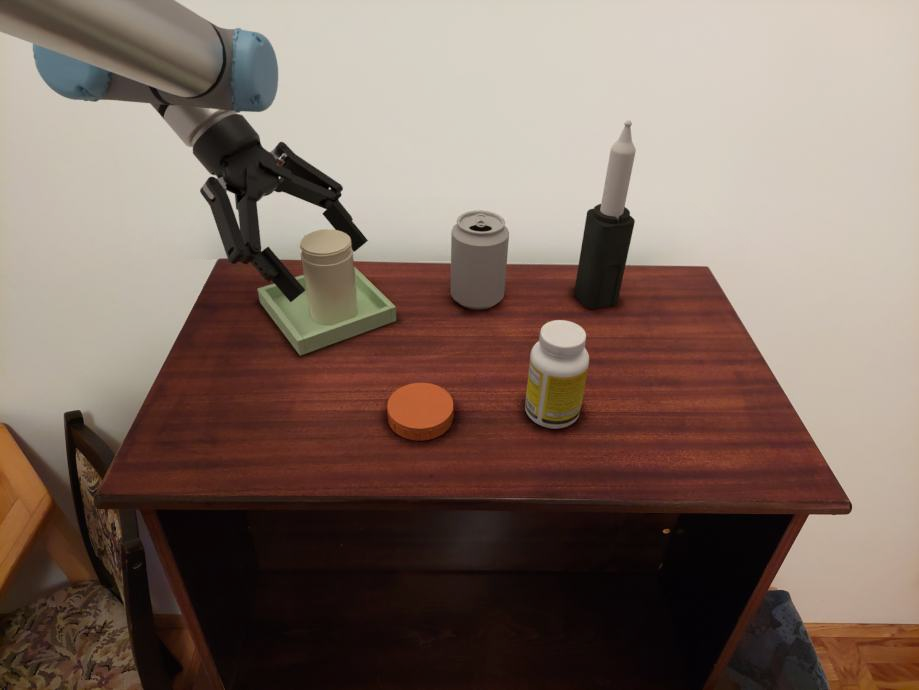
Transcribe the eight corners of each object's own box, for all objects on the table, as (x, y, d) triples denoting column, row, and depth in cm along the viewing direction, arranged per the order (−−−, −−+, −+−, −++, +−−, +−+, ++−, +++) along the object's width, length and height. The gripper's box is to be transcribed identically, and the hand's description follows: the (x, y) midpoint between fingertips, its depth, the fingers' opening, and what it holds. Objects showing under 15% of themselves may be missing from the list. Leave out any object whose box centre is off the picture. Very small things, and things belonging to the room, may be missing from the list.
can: (449, 312, 87) (450, 232, 79) (451, 282, 93) (452, 205, 85) (504, 314, 87) (511, 235, 79) (503, 283, 93) (509, 207, 85)
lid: (466, 412, 72) (466, 400, 71) (425, 451, 67) (425, 438, 66) (416, 386, 75) (415, 373, 74) (374, 421, 70) (373, 408, 69)
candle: (603, 286, 93) (636, 111, 77) (620, 305, 89) (659, 125, 74) (571, 291, 92) (598, 114, 76) (587, 311, 88) (620, 129, 72)
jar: (330, 331, 82) (321, 259, 76) (299, 311, 85) (288, 241, 79) (368, 310, 86) (362, 240, 79) (337, 292, 89) (329, 223, 83)
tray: (300, 355, 79) (297, 341, 78) (260, 302, 88) (257, 288, 86) (396, 320, 85) (395, 306, 84) (350, 274, 94) (348, 260, 92)
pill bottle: (588, 406, 73) (604, 328, 66) (563, 439, 69) (577, 360, 62) (540, 385, 76) (551, 308, 69) (513, 415, 72) (522, 337, 65)
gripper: (268, 118, 89) (368, 241, 93) (120, 185, 71) (252, 333, 75) (294, 84, 84) (399, 215, 88) (142, 147, 66) (282, 308, 70)
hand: (331, 270), depth 81 cm, fingers open, 13 cm apart
